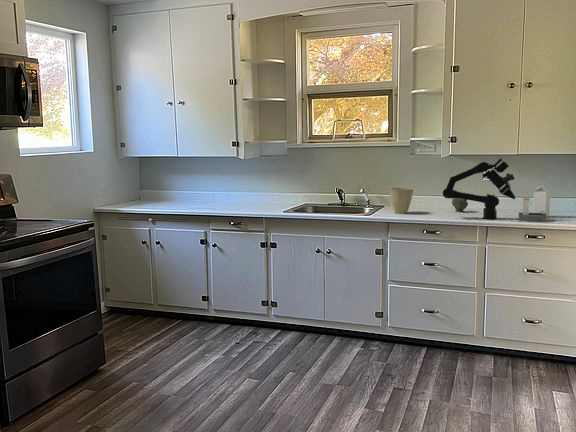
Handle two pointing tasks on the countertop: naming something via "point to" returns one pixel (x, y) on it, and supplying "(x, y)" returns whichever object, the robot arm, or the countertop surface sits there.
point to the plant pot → (401, 199)
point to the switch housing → (533, 217)
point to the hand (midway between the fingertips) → (514, 198)
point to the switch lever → (525, 206)
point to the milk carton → (541, 200)
